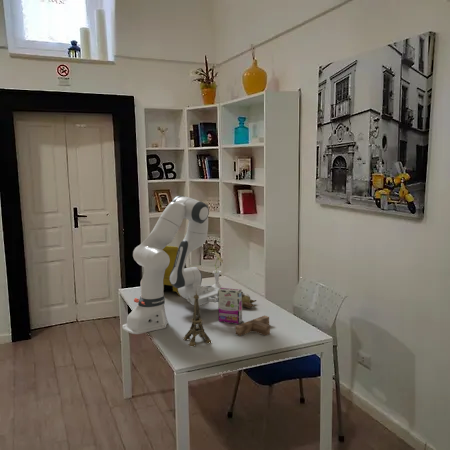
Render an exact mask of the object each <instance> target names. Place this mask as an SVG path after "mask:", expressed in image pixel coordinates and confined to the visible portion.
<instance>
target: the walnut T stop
mask: <svg viewBox="0 0 450 450" xmlns="http://www.w3.org/2000/svg"><path fill="white" fill-rule="evenodd" d="M234 327H235V335H237V336H239V337H242V336H244V335H246V334H249V333H252V332H255V333H256V334H260V335H263V336H269V335H270V334H271V325H270V316H268V315H262V316H260V317H256V318H254V319H251V320H248V321H245V322H243V323H242V322H241V323H239V324H237V325H234ZM241 335H242V336H241Z"/></svg>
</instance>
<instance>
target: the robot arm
mask: <svg viewBox="0 0 450 450" xmlns="http://www.w3.org/2000/svg"><path fill="white" fill-rule="evenodd" d="M209 214H210V209H209V206H208V205H207V203H205V202H204V201H200V200H197V199H195V198H193V197H190V196H189V197H188V196H185V195H177V196H175V197H174V198H172V200H171V201H170V202H169V203H168V205H167V206H166V207H165V209H164V210H163V211H162V212H161V215H160V216H159V217H158V220H157V221H156V223H155V225H154V227H153V229H152V230H151V232H150V233H149V234H148V236H147V237H146V238H145V239H144V240H143V241H142V242H141V243H140V244H139V245H137V246H136V247H134V249H133V251H132V257H133V260H134V261H135V262H136V263H137V264H138V265H139V266H141V267H143V276H142V277H141V280H140V297H139V298H137V297H136V298H135V297H134V299H133V302H134V303H136V304H137V305H136V307H134V308H133V310H131V312H130V313H128V315H127V318H126V323H124V324H122V330H123V331H124V332H127V333H128V334H131V335H140V334H145V333H149V332H150V333H151V332H153V331H158V330H163V329H166V327H167V325H168V324H169V320H168V318H167V314H166V308H165V305H166V304H165V302H166V301H165V300H166V299H165V294H164V290H163V278H164V273H165V269H166V268H167V267H168V265H169V262H170V259H169V256H168V254H167V253H166V252H165V251H163V249H164V248H165V247H166V246H169V244H171V243H172V242H173V240H174V239H175V237H176V235H177V233H178V231H179V230H180V227H181V225H182V224H183V220H184V219H186V220H188V223H187V228H186V234H185V236H184V238H183V239H182V241H181V242H180V243H179V246H178V252H177V255H176V259H175V263H174V266H173V269H172V271H171V273H170V277H169V280H170V283H171V284H172V285H173V286H174V287H175V288H178V293H179V294H180V297H182V298H184V299H186V301H187V302H189V303H190V304H191V305H193V306H194V302H195V299H194V298H193V297H194V295H196V293H197V295H198V297H199V299H198V303H199V306H202V305H205V304H208V303H218V290H219V288H214V286H213V285H209V286H208V285H207V286H206V285H205V286H202V280H203V274H202V271H201V270H200V269H199V268H198V267H197V266H192V267H191V266H189V267H187V268H184V266H185V263H187V258H188V257H189V256H190V254H191V253H192V252H193V251H195V250H196V249H199V248H201V247H202V246H203V245H204V244H205V243H206V241H207V238H208V231H209ZM178 293H177V294H178ZM179 294H178V295H179Z"/></svg>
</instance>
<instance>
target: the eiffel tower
mask: <svg viewBox="0 0 450 450" xmlns="http://www.w3.org/2000/svg"><path fill="white" fill-rule="evenodd" d="M193 298H194V299H195V302H194V305H193V314H192V318H191V326H190V327H189V330H188V331H187V332H186V333H185V335H184V337H183V338H184V339H185V341H188V340H187V339H190V340H189V343H188V347H190V346H193V347H195V346H194V345H196V346H197V344H196V337H197V336H198V337H200V338H203V339H204V342H205V344H207V343H209V342H210V343H209V344H212V343H211V341H212V339H210V338H209V336H208V334H207V333H206V332H205V328H204V326H203V318H201V311H200V305H199V303H198V299H199V297H198V295H197V293H196V295H194V297H193ZM184 339H183V340H184Z"/></svg>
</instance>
